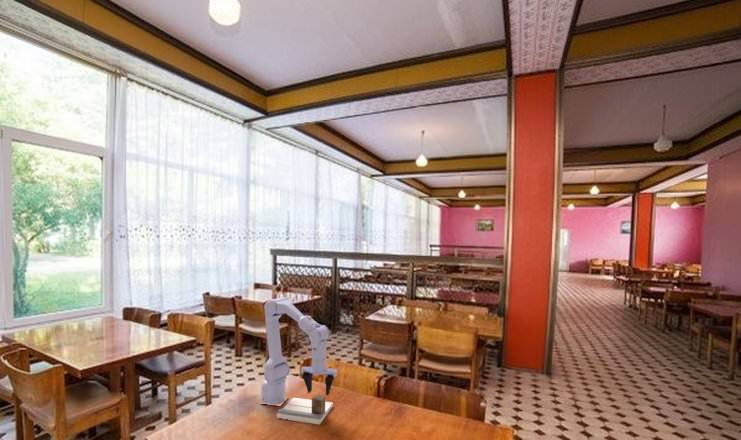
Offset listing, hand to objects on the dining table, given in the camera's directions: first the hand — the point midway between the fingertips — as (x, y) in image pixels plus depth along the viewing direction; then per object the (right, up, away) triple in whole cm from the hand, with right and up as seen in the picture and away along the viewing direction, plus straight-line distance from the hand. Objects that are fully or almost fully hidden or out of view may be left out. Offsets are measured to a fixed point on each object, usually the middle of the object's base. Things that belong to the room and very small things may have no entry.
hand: (318, 393), depth 131 cm
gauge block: (0, -8, 0) cm, 8 cm away
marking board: (-6, -9, +3) cm, 11 cm away
